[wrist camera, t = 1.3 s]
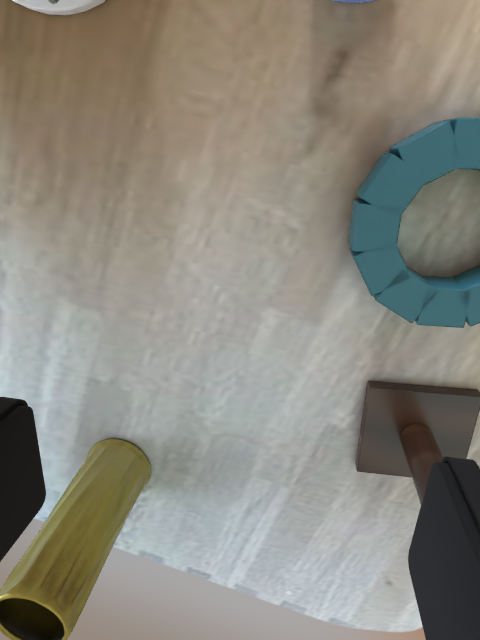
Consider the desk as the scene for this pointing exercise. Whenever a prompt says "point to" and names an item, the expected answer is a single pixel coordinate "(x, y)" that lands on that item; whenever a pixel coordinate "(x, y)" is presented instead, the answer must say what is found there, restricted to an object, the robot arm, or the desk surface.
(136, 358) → the desk surface
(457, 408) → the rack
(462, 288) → the ring
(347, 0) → the decorative dice
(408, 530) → the desk surface
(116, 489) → the vase
